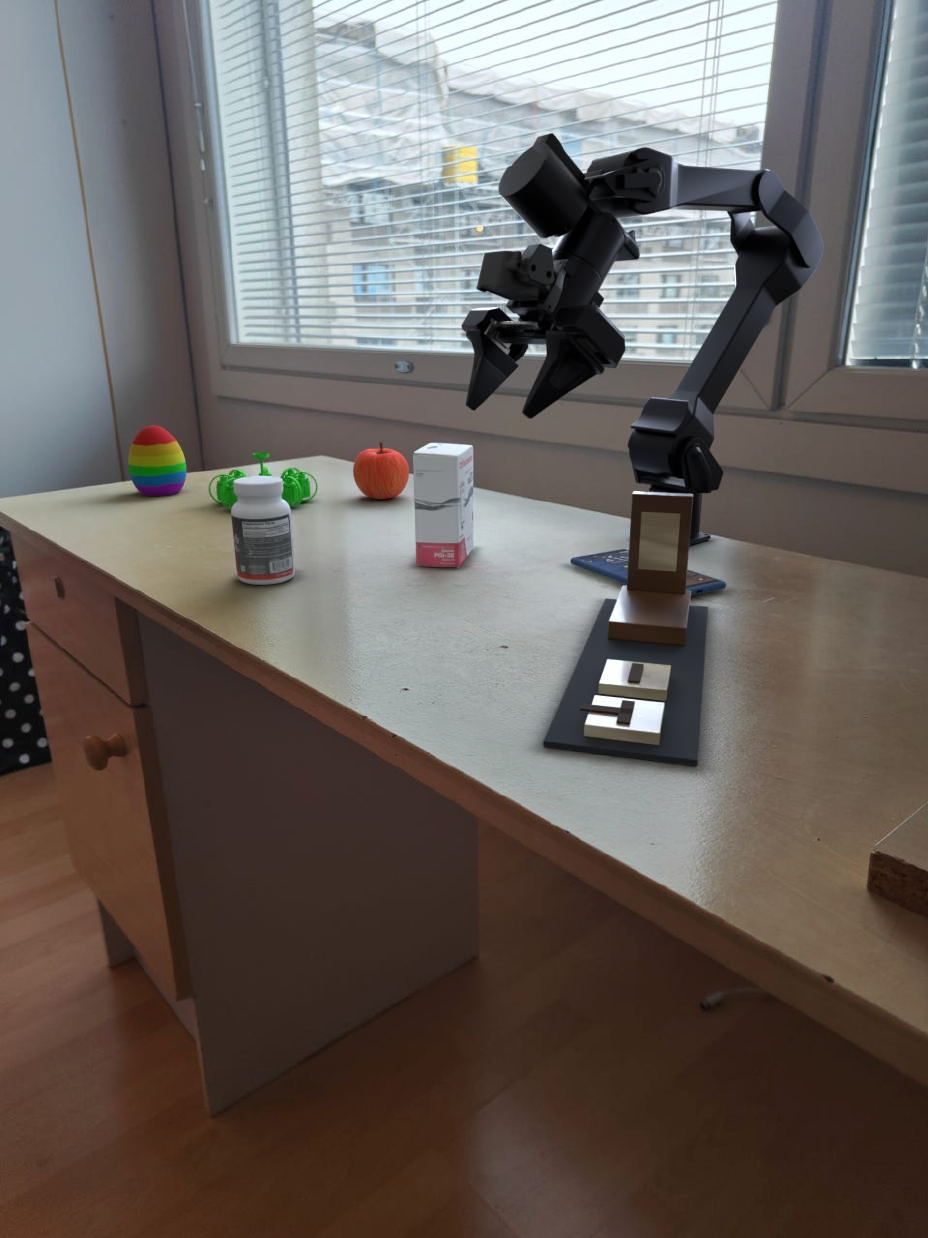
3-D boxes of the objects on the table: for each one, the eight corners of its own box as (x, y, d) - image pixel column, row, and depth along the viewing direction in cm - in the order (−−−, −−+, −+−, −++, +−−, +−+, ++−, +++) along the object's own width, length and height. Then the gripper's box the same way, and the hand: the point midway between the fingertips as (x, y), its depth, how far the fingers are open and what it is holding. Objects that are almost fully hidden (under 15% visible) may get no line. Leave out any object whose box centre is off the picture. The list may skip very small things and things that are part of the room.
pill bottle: (242, 570, 89) (233, 475, 86) (298, 569, 89) (291, 473, 86) (233, 587, 83) (223, 485, 80) (292, 585, 84) (284, 484, 81)
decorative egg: (139, 488, 133) (130, 422, 130) (193, 487, 134) (186, 421, 131) (125, 498, 125) (116, 429, 122) (183, 497, 126) (175, 428, 123)
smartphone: (669, 594, 77) (568, 557, 89) (668, 602, 77) (567, 564, 90) (729, 581, 81) (624, 547, 93) (728, 589, 81) (624, 554, 93)
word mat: (605, 602, 78) (605, 588, 78) (707, 610, 76) (708, 595, 75) (543, 747, 52) (543, 726, 51) (696, 766, 50) (698, 745, 49)
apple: (361, 491, 129) (359, 437, 127) (414, 492, 128) (412, 438, 125) (347, 502, 122) (344, 445, 119) (403, 503, 121) (401, 446, 118)
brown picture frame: (621, 601, 77) (627, 490, 74) (690, 606, 76) (699, 493, 72) (607, 639, 68) (613, 515, 65) (685, 646, 67) (695, 519, 63)
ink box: (459, 569, 89) (458, 454, 85) (413, 567, 90) (410, 453, 86) (475, 548, 97) (474, 442, 93) (432, 546, 98) (430, 441, 94)
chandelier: (268, 489, 132) (265, 443, 130) (340, 499, 123) (337, 451, 121) (187, 505, 120) (182, 456, 118) (260, 518, 112) (255, 465, 110)
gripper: (464, 222, 85) (387, 358, 84) (591, 201, 70) (498, 366, 69) (535, 294, 91) (464, 421, 91) (664, 288, 77) (580, 439, 76)
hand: (496, 411), depth 82 cm, fingers open, 9 cm apart
